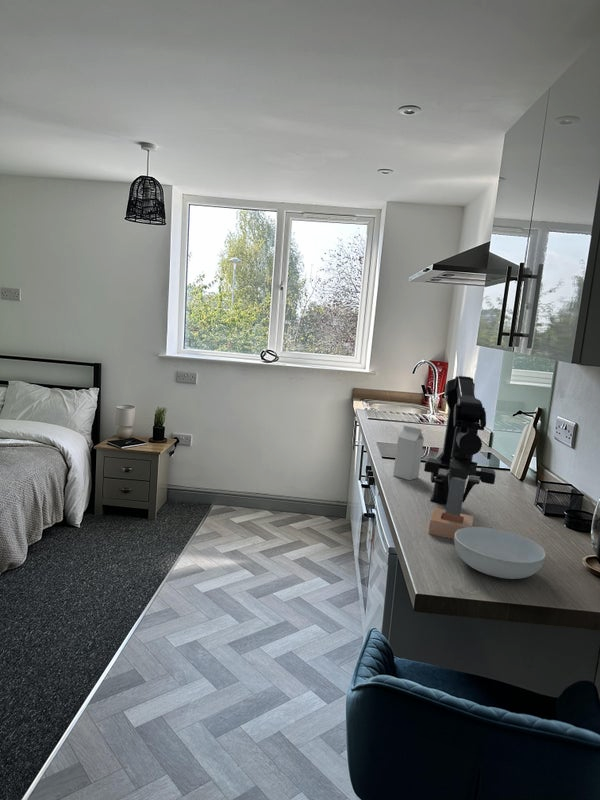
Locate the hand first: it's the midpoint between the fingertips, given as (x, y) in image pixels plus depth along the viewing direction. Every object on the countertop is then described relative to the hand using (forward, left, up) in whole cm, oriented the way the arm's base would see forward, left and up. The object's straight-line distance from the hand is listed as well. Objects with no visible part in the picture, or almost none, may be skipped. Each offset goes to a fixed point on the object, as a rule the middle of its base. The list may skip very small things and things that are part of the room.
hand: (455, 500), depth 154 cm
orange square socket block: (0, 0, -9) cm, 9 cm away
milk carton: (-48, -20, -9) cm, 53 cm away
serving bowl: (+19, +12, -10) cm, 24 cm away
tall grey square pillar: (0, 0, -4) cm, 4 cm away
